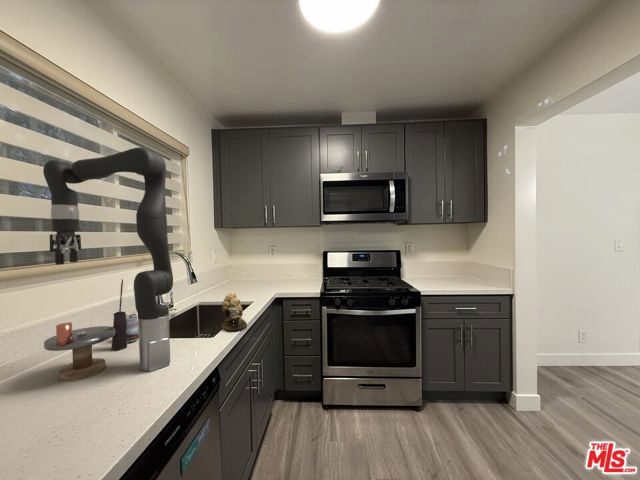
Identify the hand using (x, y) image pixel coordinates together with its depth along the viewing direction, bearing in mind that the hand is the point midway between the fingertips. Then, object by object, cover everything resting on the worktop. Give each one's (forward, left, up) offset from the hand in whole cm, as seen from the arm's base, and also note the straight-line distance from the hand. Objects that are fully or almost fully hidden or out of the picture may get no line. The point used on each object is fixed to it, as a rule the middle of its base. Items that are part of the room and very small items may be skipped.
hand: (67, 263), depth 100 cm
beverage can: (+8, -20, -36) cm, 42 cm away
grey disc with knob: (-13, -2, -25) cm, 28 cm away
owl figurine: (-11, -59, -36) cm, 70 cm away
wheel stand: (-13, -2, -36) cm, 38 cm away
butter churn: (+1, -14, -36) cm, 39 cm away
